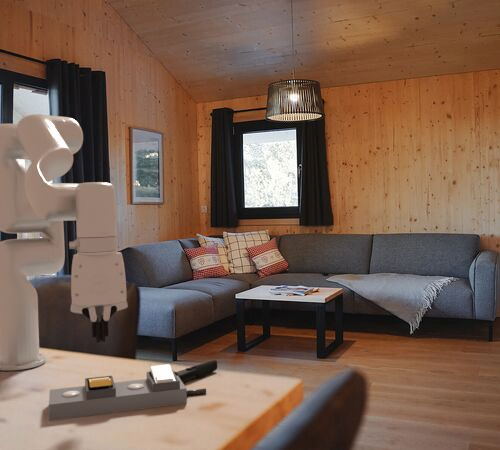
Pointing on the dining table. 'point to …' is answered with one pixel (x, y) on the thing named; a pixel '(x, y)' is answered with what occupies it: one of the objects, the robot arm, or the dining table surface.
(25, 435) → the dining table surface
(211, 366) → the electric trimmer
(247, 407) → the dining table surface
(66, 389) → the power strip
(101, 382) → the amber rocker
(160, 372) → the white rocker switch
